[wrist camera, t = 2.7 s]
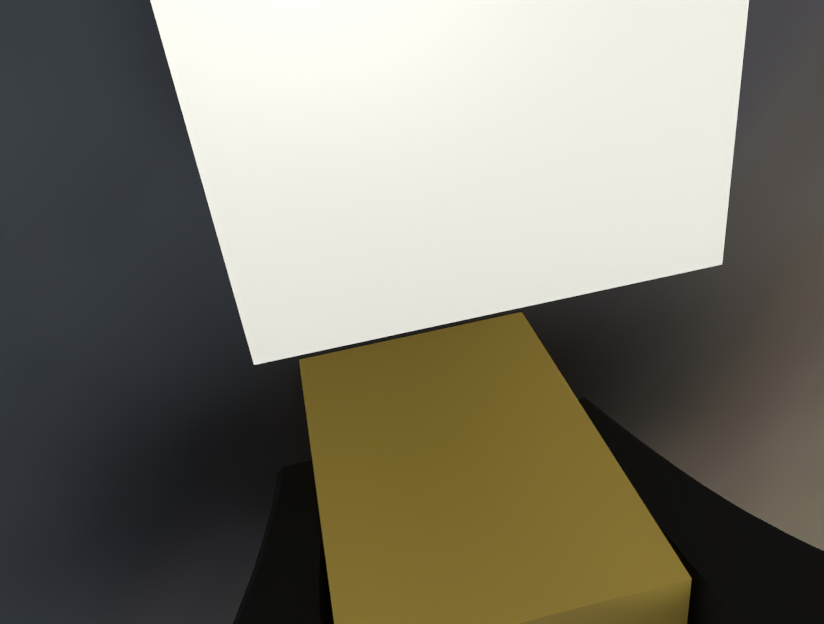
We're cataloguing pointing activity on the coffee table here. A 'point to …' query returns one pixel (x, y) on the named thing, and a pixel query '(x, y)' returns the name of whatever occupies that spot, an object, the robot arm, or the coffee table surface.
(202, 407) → the coffee table surface
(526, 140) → the off-white bar
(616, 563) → the mustard bar
